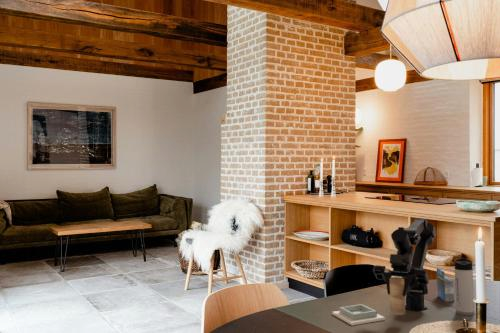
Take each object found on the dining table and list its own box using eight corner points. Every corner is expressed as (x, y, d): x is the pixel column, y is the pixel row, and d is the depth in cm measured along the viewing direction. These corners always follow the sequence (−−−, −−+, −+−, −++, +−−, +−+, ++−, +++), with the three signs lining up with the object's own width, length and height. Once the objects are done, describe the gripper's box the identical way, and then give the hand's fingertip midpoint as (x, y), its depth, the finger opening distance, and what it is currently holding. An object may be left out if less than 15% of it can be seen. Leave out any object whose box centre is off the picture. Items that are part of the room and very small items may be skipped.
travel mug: (473, 310, 182) (471, 258, 182) (475, 316, 176) (473, 261, 176) (455, 309, 184) (453, 257, 184) (456, 314, 178) (455, 261, 178)
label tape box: (454, 301, 194) (453, 271, 194) (444, 302, 195) (443, 271, 195) (446, 295, 203) (445, 267, 203) (436, 296, 203) (435, 267, 203)
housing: (363, 309, 187) (363, 302, 187) (385, 320, 174) (384, 311, 174) (332, 314, 183) (332, 306, 183) (351, 325, 170) (351, 316, 170)
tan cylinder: (398, 309, 172) (397, 276, 172) (408, 313, 167) (407, 279, 167) (387, 312, 169) (386, 278, 169) (397, 315, 165) (396, 281, 165)
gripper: (373, 243, 177) (364, 279, 168) (425, 246, 166) (418, 285, 157) (381, 260, 183) (372, 296, 174) (431, 265, 173) (425, 303, 164)
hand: (396, 294), depth 167 cm, fingers closed on tan cylinder, 5 cm apart
